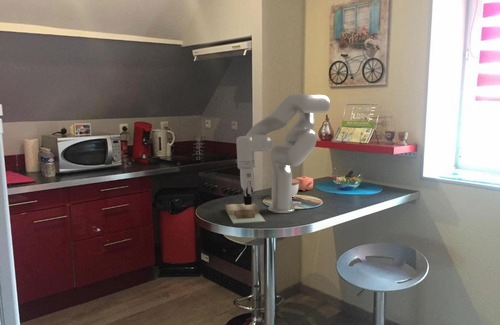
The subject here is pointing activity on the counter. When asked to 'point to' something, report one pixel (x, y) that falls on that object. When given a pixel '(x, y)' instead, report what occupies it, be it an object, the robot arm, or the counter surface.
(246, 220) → the sage mat
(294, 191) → the lidded bowl
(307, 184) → the pink cube teapot
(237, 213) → the walnut block
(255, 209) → the birch board
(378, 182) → the counter surface
